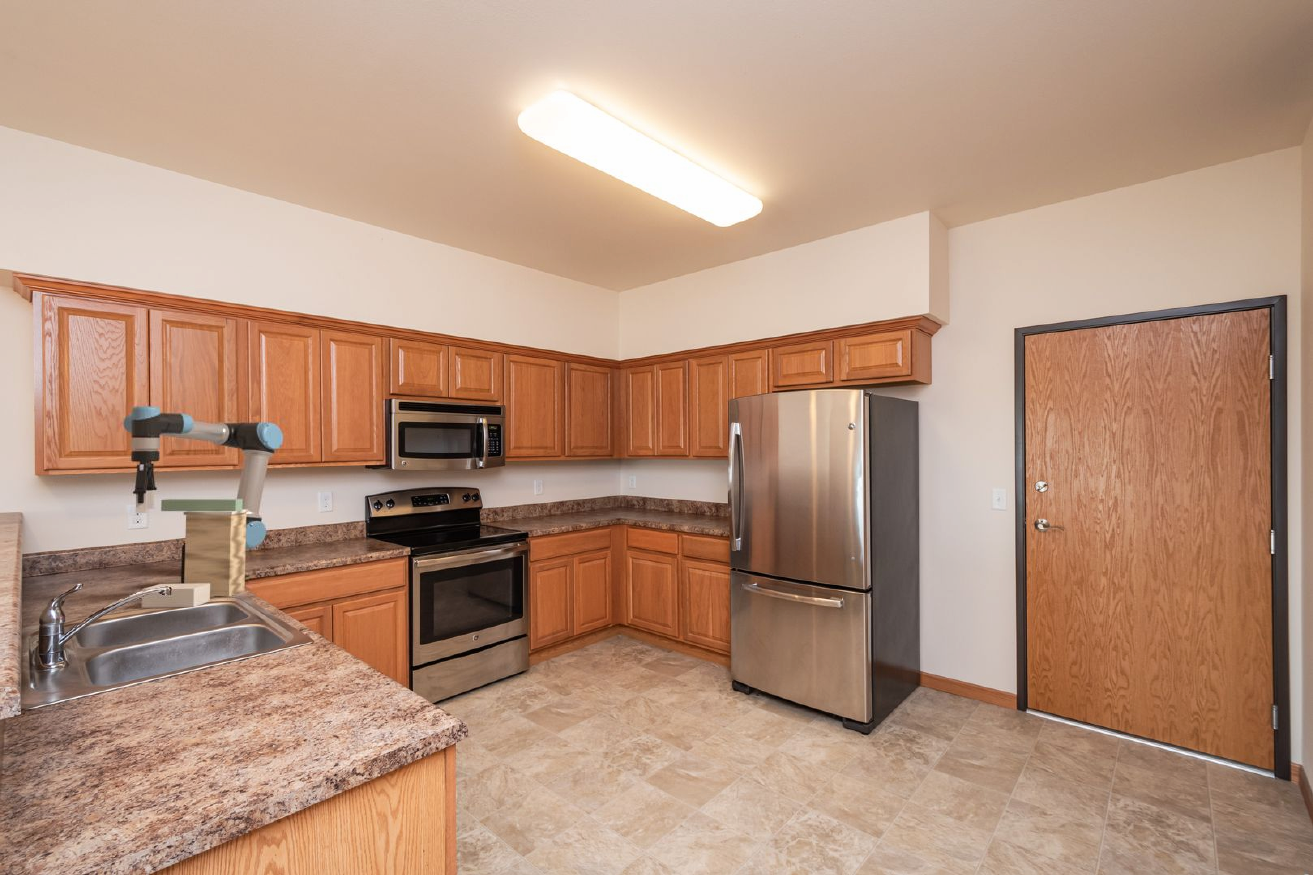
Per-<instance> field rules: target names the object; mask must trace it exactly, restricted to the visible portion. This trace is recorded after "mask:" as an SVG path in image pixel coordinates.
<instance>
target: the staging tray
mask: <svg viewBox="0 0 1313 875" xmlns="http://www.w3.org/2000/svg"><path fill="white" fill-rule="evenodd" d="M165 586H168V587H171V588H172V594H171V595H167V596H164V595H162V594H159V593H156V594H153V595H146V596H144V597H142V596H141V608H142V609H144V608H146V609H147V608H148V609H151V608H152V609H153V608H155V609H157V608H196V607H197V606H200V605H202V604H205V603H208V602H210V601H211V600H210V599H211V597H210V583H197V584H181V583H158V584H156V585H153V586H149V587H145V588H142V589H141V592H142V591H146V590H150V589H155V588H160V587H165Z"/></svg>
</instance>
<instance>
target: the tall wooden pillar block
mask: <svg viewBox="0 0 1313 875" xmlns="http://www.w3.org/2000/svg"><path fill="white" fill-rule="evenodd" d="M246 512H249V509H242V510H239V511H183V515H184V516H185V538H184V539H185V572H184V584H197V583H210V598H215V597H214V596H230V597H232V595H233V596H235V595H237V594H240V593H242V592H245V590H246V589H245V588H246V587H245V584H246V582H245V581H246V580H245V579H246V578H245V577H246V550H247V549H246Z"/></svg>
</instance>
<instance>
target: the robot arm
mask: <svg viewBox="0 0 1313 875" xmlns="http://www.w3.org/2000/svg"><path fill="white" fill-rule="evenodd" d="M123 428H124V430H125V431H127V432H128V433H130V434H131V440H129V441H128V443H129V444H130V445H131V450H132V451H131V454H130V455H131V458H130V461H131V462H133V463H138V462H139V464H137V465H136V478H135V485H134V490H133V491H132V494H133V495H135V513H136V514H144V513H147V512H148V510H151V509H153V510H154V509H155V507H154V506H155V491H157V490H158V487H156V484H155V472H154V469H155V468H154V466H155V464H154V463H152V462H159V461H160V451H159V450H160V449H161V445H160V444H161V441H160V440H161V436H162V437H167V438H168V437H170V438H177V439H178V438H179V439H185V440H192V441H193V440H194V441H200V442H201V441H204V442H209V443H210V442H211V443H212V444H213V445H217V446H223V447H227V448H228V447H229V448H233V449H238V450H239V449H240V450H241V453H242V454H243V455H244V460H243V464H242V468H241V469H242V470H241V475H240V480H239V485H238V490H237V495H236V499H243V503H242V509H249V512H246V549H245V550H252V549H256V548H257V547H259V546H260V545H261V544H262V543H263V542H264V540H265V538H266V535H267V527H266V525H265V524H264V522H262V519H263V517H262V516H261V515H260V513H259V512H260V508H261V502H262V497H263V492H264V487H265V486H264V485H265V480H266V475H267V470H268V464H269V459H270V458H272V457H273V456H274V455H275V450H278V449H279V448H280V447H281V446H282V445H283V442H284V435H283V432H282V430H281V428H280V427H279V426H278V425H277V424H275V423H273V422H266V421H263V422H262V421H261V422H259V421H258V422H228V423H227V422H222V421H221V422H216V423H211V422H204V421H197V420H194V419H193V417H192V416H191V415H189V414H186V413H176V412H175V413H174V412H173V413H169V412H168V413H167V412H161V409H160V407H158V406H148V405H147V406H145V405H144V406H141V405H140V406H138V405H137V406H134V407H132V409H131V413H130V414H128V415H126V416H125V418H124V419H123Z"/></svg>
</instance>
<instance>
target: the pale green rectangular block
mask: <svg viewBox="0 0 1313 875" xmlns="http://www.w3.org/2000/svg"><path fill="white" fill-rule="evenodd" d="M160 501H161V502H160V503H161V504H160V505H161V506H160V508H161V509H160V511H161V512H187V511H239V510H242V503H243V499H237V498H168V499H167V498H166V499H161V500H160Z"/></svg>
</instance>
